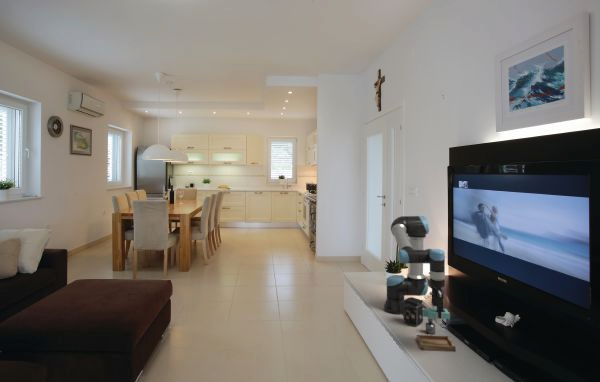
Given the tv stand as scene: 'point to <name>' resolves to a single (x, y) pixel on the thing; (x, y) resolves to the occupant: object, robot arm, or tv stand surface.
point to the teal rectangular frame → (432, 313)
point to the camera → (413, 311)
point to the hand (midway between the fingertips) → (437, 320)
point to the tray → (435, 343)
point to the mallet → (430, 327)
